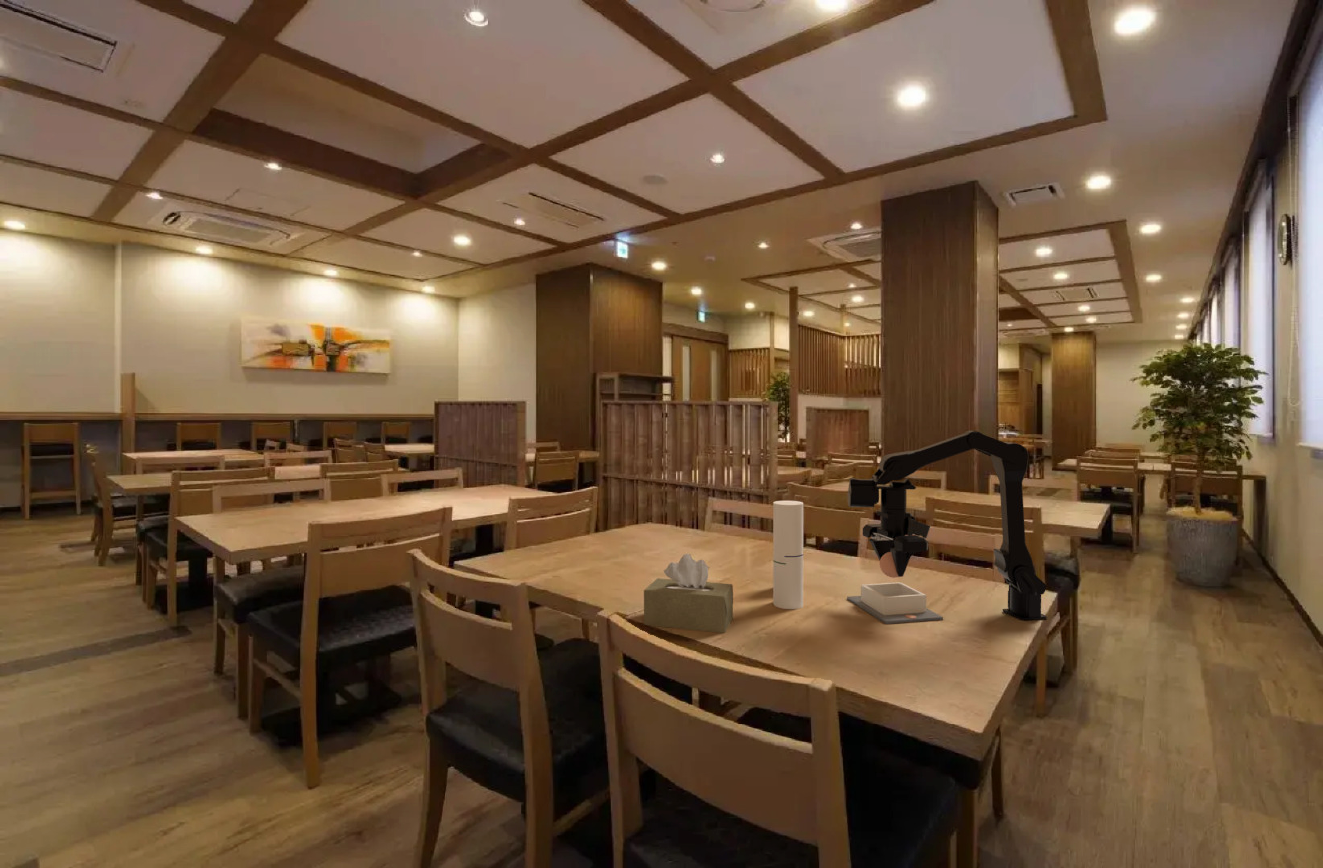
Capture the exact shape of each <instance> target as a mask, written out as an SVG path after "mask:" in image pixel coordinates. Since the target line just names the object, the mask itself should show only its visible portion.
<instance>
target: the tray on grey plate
mask: <svg viewBox="0 0 1323 868" xmlns="http://www.w3.org/2000/svg"><path fill="white" fill-rule="evenodd" d="M846 597H847V598H846V599H847V600H848V601H849V602H851V603H852V604H854V605H855V606H857V607H859V608H861V610H863V611H865V612H867V613H868V614H869V615H871V616H872V617H874V618H876V619H877V620H879V621H880V622H882V623H884V624H885V625H890V624H902V623H903V624H906V623H917V622H929V621H931V622H932V621H941V620H942V621H943V620H944V617H943V616H942V615H940V614H938V613H936V612H934V611H932V610H930V609H929V608H927V594H925V593H923V592H921V591H919V590H916V588H913V587H911V586H909V585H907V584H905V583H903V582H901V581H900V582H886V583H885V582H882V583H869V584H868V583H867V584H865V583H864V584H860V595H853V596H846Z"/></svg>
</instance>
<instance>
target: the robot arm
mask: <svg viewBox="0 0 1323 868" xmlns="http://www.w3.org/2000/svg"><path fill="white" fill-rule="evenodd" d="M971 450H975V451H977V452H979V453H981V454H983V455H986V456H988V457H990V458H991V462H992V466H993V470H994V472H995V475H996V477H997V479H998V481H999V482H998V483H999V493H1000V510H1001V511H1000V512H1001V514H1000V515H1001V530H1002V531H1001V534H1002V543H1001V545H1000V548H993V555H994V557H995V558H994V562H993V565H994V567H996V568H997V572H998V573H1000V575H1002V577H1004V578H1005V581H1006V584H1008V590H1007V608H1003V609H1002V612H1004V613H1006V614H1008V615H1010V616H1013V617H1014V618H1017V619H1020V620H1022V621H1028V620H1029V621H1030V620H1040V619H1041V620H1042V619H1045V620H1046V619H1048V616H1047V615H1046V614H1044V613H1042V595H1044V594H1045V592H1046V590H1047V587H1048V585H1047V584H1046V583H1045V582H1044V581H1042V580H1041V578H1039V577H1038V576H1037V575H1036V570H1035V566H1034V562H1033V558H1032V556H1031V553H1030V550H1029V549H1028V546H1027V544H1026V528H1025V526H1026V525H1025V513H1024V512H1025V511H1024V510H1025V508H1024V493H1023V481H1024V478H1025V475H1026V474H1027V470H1028V467H1029V458H1030V457H1029V456H1030V455H1029V451H1028V449H1027V448H1026V447H1025V446H1023V444H1019V443H1017V442H1009V441H1002V440H999V439H997V438H993V437H990V436H988V435H985V434H983V433H982V432H980V431H976V430H967V431H965V432H964V433H961V434H959V435H956V436H953V437H949V438H947V439H944V440H941V441H938V442H935V443H932V444H930V445H927V446H924V447H922V448H919V449H915V450H908V451H900V452H894V453H889V454H886V455H884V456H883V457H881V459H880V460H879V464H878V468H877V470H876V471H875V472H874V474H873V475H872V476H871V477H870V478H867V479H866V478H865V479H864V478H863V479H861V478H853V477H852V478H850V477H849V482H848V488H847V489H848V490H847V491H846V492H847V496H846V498H847V505H848V508H849V507H850V508H874V507H875V505H878V504H879V502H880V510H877V511H876V515H877V516H879V517H880V523H871V524H870V523H869V524H865V525H864V526H863V527H862V536H863V537H866V538H868V541H869V543H870V545H871V546H872V548H873V550H874V552H875V554H876V556H877V558H878V560H879V561H880V559H881V557H882V556H883V555H884V554H886V553H888V552H891V553H892V557H893V561H894V564H895V568H896V571H897V574H898V576H899V577H898V578H901V577H904V575H905V573H906V571H907V568H908V565H909V562H910V559H911V558H912V556H913V555H914V554H916V553H919V552H925V551H926V552H927V551H928V549H929V548H928V546H929V545H928V544H929V542H928V540H927V538H928V535H929V532H930V529H931V525H929V524H926V523H923V522H921V521H918V520H916V516H914V515H913V516H912V513H911V512H908V511H907V498H908V497H907V495H908V494H907V491H908V490H916V489H917V486H915V485H914V484H913V483H912V482H911V480H910V479H909V478H908V477H909V476H910V475H913V474H914V473H915V472H917V471H918V470H920V469H921V468H923V467H925V466H927V465H931V464H933V463H936V462H939V461H941V460H945V459H947V458H950V457H953V456H957V455H959V454H962V453H965V452H968V451H971ZM903 479H904V480H903ZM899 480H901V481H899ZM902 480H903V481H902ZM893 545H894V547H892V546H893ZM906 567H907V568H906ZM905 570H906V571H905Z"/></svg>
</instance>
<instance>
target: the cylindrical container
mask: <svg viewBox="0 0 1323 868" xmlns="http://www.w3.org/2000/svg"><path fill="white" fill-rule="evenodd" d="M772 503H773V504H772V506H773V507H772V509H773V510H772V511H773V512H772V513H773V514H772V515H773V520H772V521H773V522H772V523H773V524H772V527H773V531H772V534H773V537H772V538H773V542H772V545H773V547H772V548H773V549H772V551H773V555H772V559H773V561H772V562H773V563H772V565H773V567H772V571H773V572H772V573H773V574H772V575H773V579H772V581H773V582H772V583H773V584H772V585H773V587H772V588H773V590H772V594H773V595H772V596H773V597H772V598H773V599H772V601H773V602H772V604H773V605H774V606H775V607H776V608H779V609H783V610H798V609H801V608H803V607H804V502H803V501H799V500H776V501H773V502H772Z"/></svg>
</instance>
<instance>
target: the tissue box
mask: <svg viewBox="0 0 1323 868" xmlns="http://www.w3.org/2000/svg"><path fill="white" fill-rule="evenodd" d="M691 555H692V554H690V553H684V554H683V555H682V556H681V557H680V559H679V561H678V562H672V561H671V562H670V563H669V564H668V566H667V567H666V568H665V569H664V570H663V573H664V574H665V576H666V577H667V578H660V577H659V578H658V577H657V578H656V579H655V580H654V581H653V582H652V583H650V584H649V585H648V586H647V587H646V588H645V589H643V624H644V625H645V626H651V627H652V626H653V627H661V628H673V629H684V630H689V631H691V630H692V631H701V632H702V631H703V632H712V633H718V634H719V633H720V634H725V633H726V631H727V630H728V628H729V626H730V624H731V622H732V621H733V618H734V585H733V584H732V583H722V582H721V583H720V582H707V581H708V577H709V569H710V566H708V565H707V564H706V561H705V560H703V559H699V560H697V561H696V560H695V559H693V558H692V556H691Z"/></svg>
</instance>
